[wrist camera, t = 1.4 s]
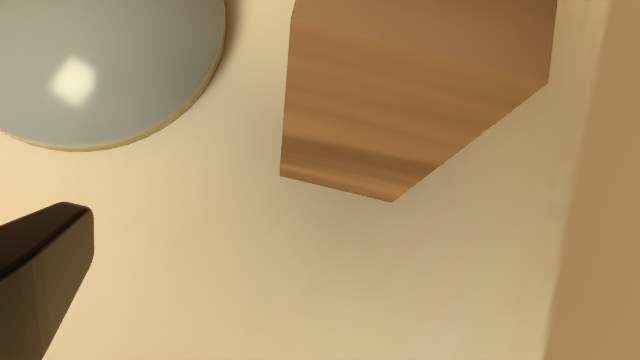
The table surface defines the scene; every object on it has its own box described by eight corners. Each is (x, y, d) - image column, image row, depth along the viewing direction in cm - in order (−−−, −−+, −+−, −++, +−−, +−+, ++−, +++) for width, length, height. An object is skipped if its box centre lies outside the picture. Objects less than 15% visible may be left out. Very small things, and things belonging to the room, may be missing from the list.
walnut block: (391, 202, 22) (547, 82, 9) (279, 175, 21) (290, 18, 9) (411, 98, 23) (572, -128, 11) (305, 71, 23) (345, -189, 10)
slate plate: (233, 142, 21) (231, 133, 20) (-67, 161, 20) (-88, 153, 19) (219, -95, 24) (216, -114, 23) (-48, -92, 23) (-65, -113, 21)
